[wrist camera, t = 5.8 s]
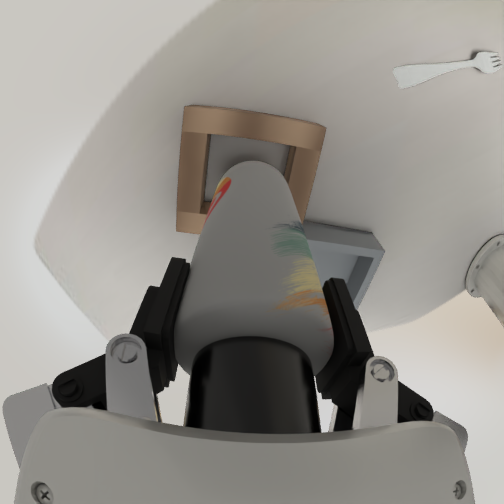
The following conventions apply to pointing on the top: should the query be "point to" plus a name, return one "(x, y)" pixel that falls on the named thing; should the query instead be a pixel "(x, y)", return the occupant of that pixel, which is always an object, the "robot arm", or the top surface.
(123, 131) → the top surface
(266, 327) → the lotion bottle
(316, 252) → the tray
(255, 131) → the socket stand
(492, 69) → the fork
